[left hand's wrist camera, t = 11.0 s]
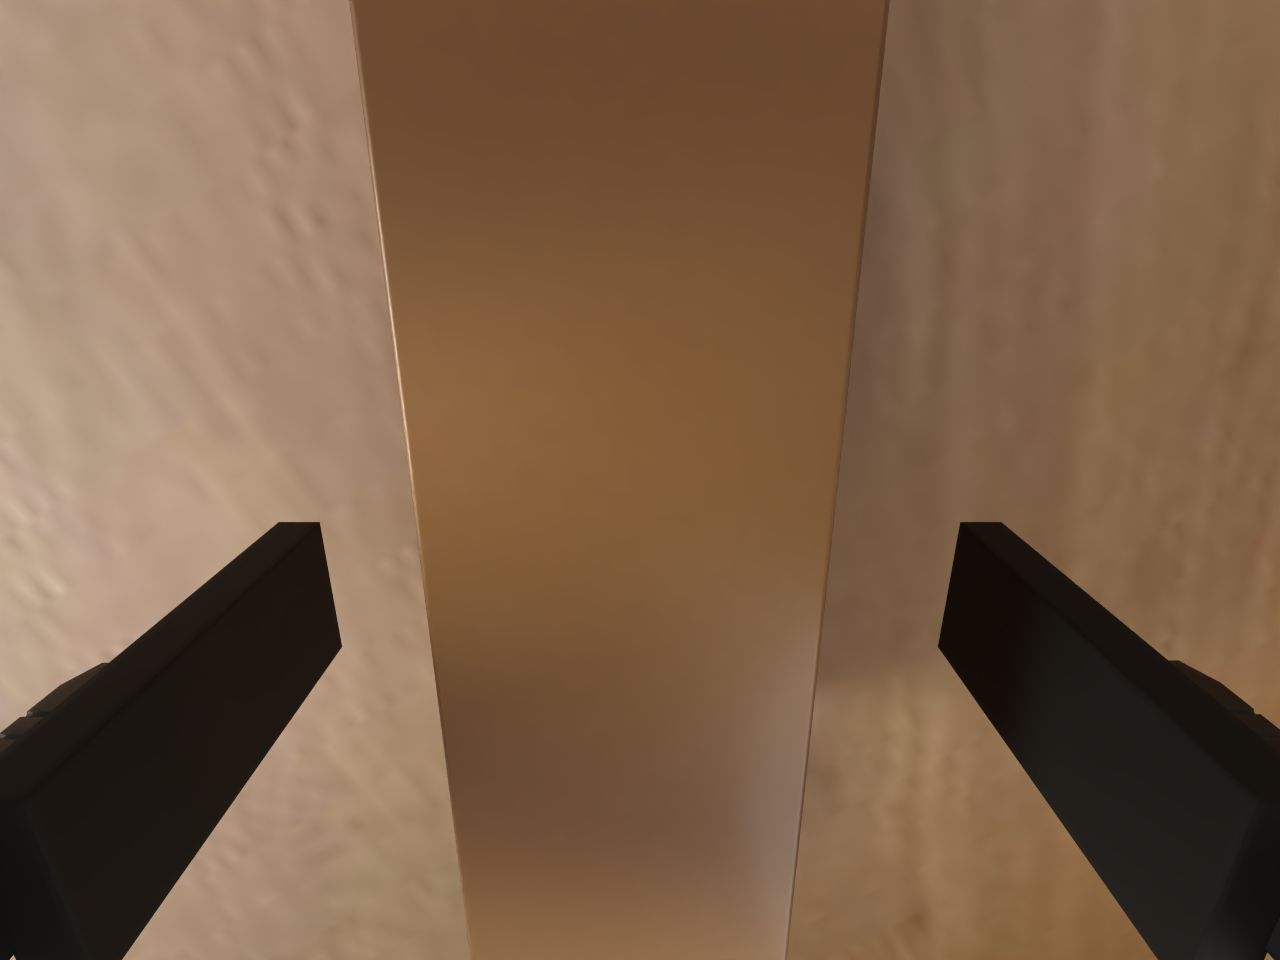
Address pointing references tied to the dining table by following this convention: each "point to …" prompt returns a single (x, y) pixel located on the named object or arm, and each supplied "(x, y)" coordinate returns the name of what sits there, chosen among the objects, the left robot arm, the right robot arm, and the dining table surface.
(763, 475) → the post
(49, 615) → the dining table surface
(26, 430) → the dining table surface
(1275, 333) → the dining table surface
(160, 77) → the dining table surface
